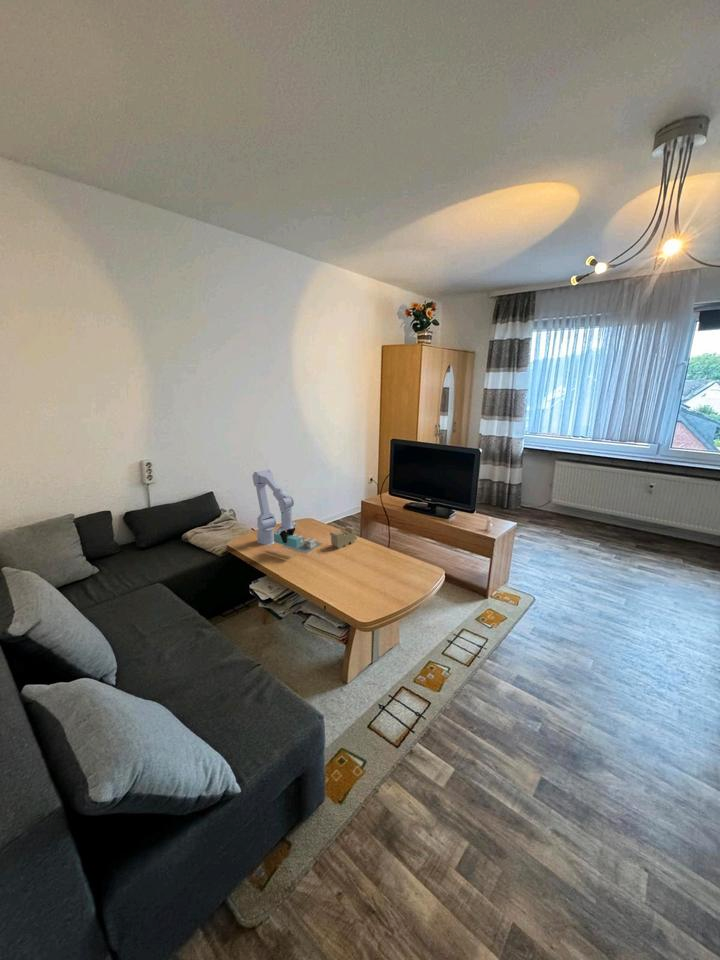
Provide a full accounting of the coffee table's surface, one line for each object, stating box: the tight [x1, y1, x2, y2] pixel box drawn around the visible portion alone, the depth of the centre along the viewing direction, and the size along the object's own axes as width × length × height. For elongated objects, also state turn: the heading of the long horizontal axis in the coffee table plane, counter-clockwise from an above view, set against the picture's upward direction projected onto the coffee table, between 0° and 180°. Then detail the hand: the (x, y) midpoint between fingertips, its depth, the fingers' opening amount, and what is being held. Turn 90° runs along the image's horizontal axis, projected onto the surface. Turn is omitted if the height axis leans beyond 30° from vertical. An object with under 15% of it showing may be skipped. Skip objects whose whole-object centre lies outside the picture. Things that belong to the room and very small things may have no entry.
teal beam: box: [274, 532, 301, 548], centre depth 213 cm, size 16×4×5 cm, turn 61°
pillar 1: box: [293, 533, 304, 543], centre depth 228 cm, size 5×5×4 cm
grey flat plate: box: [282, 537, 323, 554], centre depth 226 cm, size 18×16×1 cm
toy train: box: [329, 525, 358, 549], centre depth 226 cm, size 6×17×10 cm, turn 136°
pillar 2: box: [304, 537, 317, 549], centre depth 223 cm, size 5×5×4 cm
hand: (287, 541), depth 213 cm, fingers closed on teal beam, 4 cm apart
